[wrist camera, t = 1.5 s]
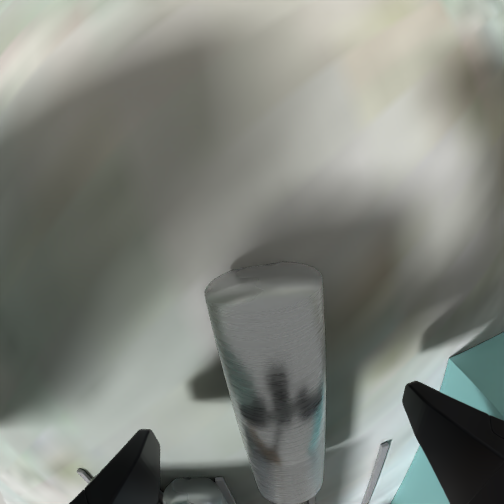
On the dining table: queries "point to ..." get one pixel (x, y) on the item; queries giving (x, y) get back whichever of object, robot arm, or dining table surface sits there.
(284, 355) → the roller
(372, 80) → the dining table surface
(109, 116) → the dining table surface
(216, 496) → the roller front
